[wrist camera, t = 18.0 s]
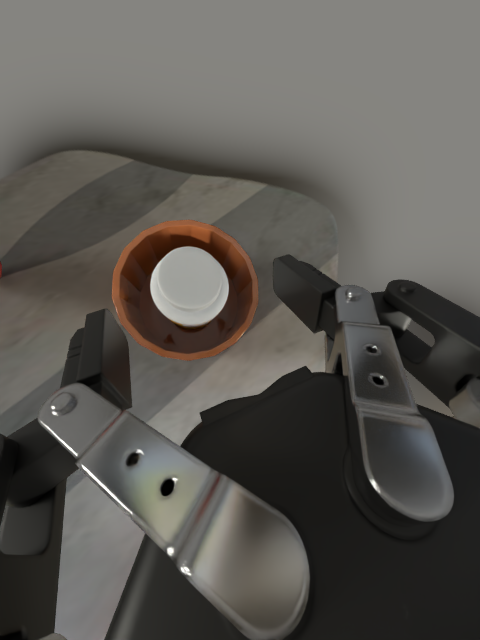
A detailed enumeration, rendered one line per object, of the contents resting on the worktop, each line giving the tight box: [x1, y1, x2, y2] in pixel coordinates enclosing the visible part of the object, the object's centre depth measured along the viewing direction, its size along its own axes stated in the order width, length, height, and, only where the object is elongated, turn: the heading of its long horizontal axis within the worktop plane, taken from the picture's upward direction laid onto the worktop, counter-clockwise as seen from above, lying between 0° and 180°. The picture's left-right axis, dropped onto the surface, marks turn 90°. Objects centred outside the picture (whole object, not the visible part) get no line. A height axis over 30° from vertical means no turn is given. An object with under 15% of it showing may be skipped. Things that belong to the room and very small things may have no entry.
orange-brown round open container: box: [112, 220, 258, 361], centre depth 21 cm, size 11×11×7 cm
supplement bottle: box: [150, 246, 229, 329], centre depth 19 cm, size 6×6×10 cm
